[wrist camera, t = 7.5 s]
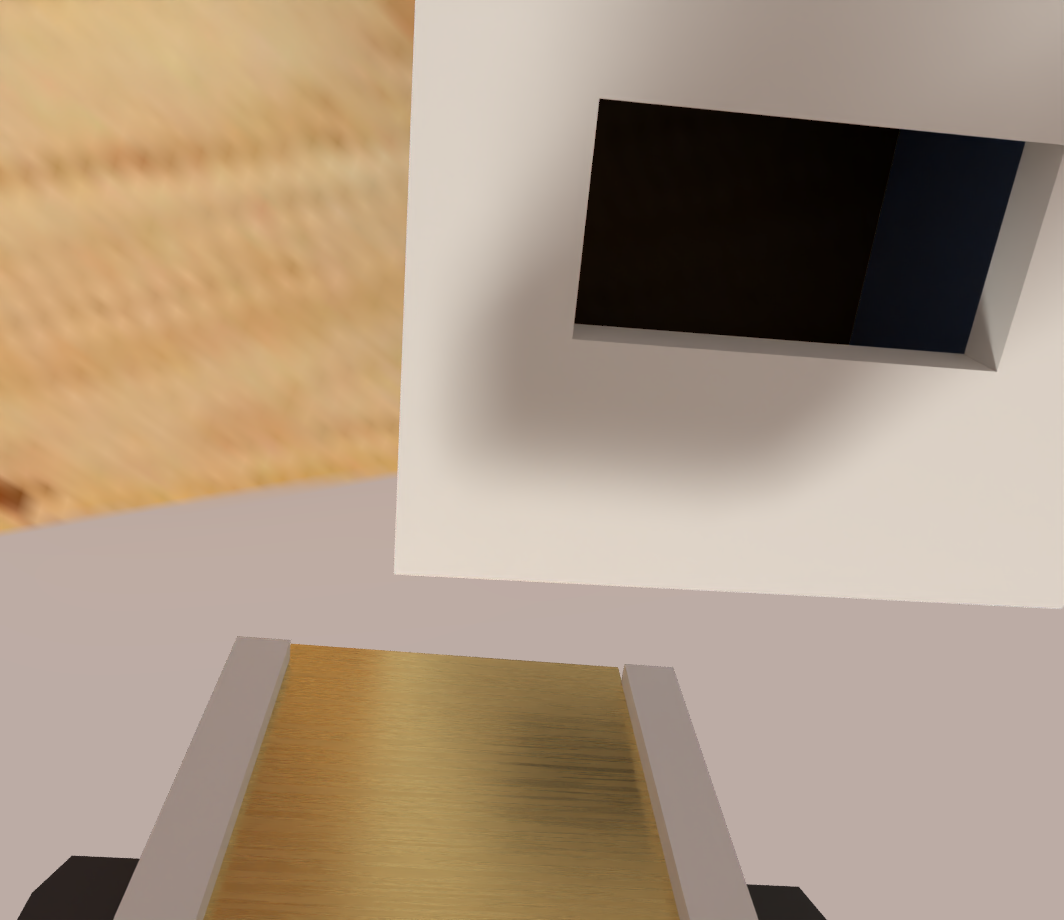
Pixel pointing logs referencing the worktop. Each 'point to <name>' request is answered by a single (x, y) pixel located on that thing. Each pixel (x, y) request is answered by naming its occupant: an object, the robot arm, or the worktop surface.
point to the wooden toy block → (444, 796)
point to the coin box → (731, 361)
